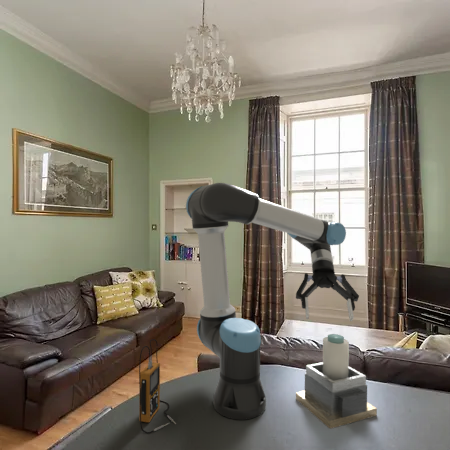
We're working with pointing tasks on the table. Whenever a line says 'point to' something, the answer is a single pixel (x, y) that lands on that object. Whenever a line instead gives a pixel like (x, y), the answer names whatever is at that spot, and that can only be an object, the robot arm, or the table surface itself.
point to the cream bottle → (335, 357)
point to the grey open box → (335, 397)
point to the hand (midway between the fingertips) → (329, 318)
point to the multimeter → (150, 391)
